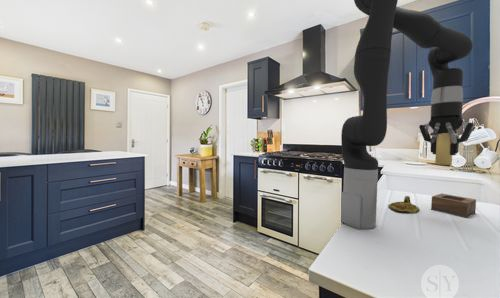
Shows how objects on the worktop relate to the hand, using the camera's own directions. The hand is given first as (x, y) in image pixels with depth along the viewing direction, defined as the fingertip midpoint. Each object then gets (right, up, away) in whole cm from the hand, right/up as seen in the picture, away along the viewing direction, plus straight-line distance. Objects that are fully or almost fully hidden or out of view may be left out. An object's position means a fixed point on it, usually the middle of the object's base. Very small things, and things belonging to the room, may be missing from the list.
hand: (443, 154), depth 69 cm
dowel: (0, -3, 0) cm, 3 cm away
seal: (-6, -22, +11) cm, 25 cm away
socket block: (+11, -21, +8) cm, 25 cm away
